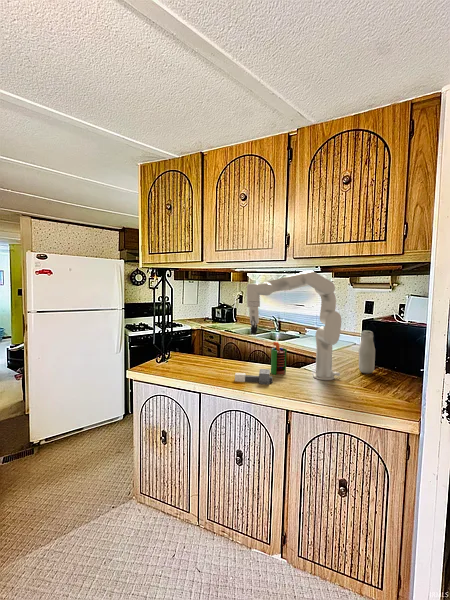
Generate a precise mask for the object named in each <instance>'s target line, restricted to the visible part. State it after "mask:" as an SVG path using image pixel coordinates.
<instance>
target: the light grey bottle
mask: <svg viewBox="0 0 450 600" xmlns="http://www.w3.org/2000/svg"><path fill="white" fill-rule="evenodd" d="M360 337H361V338H360V343H359V346H358V369H359V371H360V372H361V373H363V374H367V375H368V374H372V373H374V371H375V364H376V363H375V361H376V348H375V342H374V332H373V331H371V330H362V331H361V335H360Z"/></svg>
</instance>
